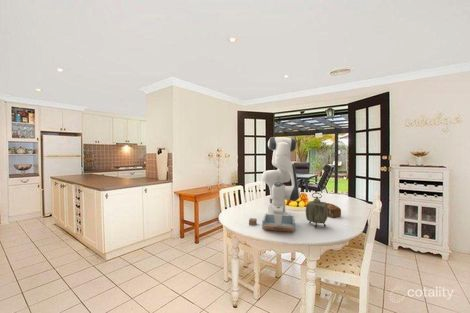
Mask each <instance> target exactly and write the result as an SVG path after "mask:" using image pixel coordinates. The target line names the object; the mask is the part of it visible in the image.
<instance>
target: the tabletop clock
mask: <svg viewBox="0 0 470 313" xmlns="http://www.w3.org/2000/svg"><path fill="white" fill-rule="evenodd" d="M315 194H316V195H320V197H319V196H314V195H315ZM311 197H312V198H314V199H313V200H310V201H308V202H307V204H306V206H305V217H306V220H307V221H308V224H312V223H314V224H315V225H314V227H315V228H317V227H318V224H323V226H324V227H326V226H327V224H326V222H327V220H328V217H329V216H328V206H327V204H326V203H327V202H326V203H324V201H321V200H320V199H321V198H322V197H323V195H322V194H321V193H319V192H313V193H312V194H311Z"/></svg>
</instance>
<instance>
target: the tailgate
mask: <svg viewBox="0 0 470 313" xmlns="http://www.w3.org/2000/svg"><path fill="white" fill-rule="evenodd" d="M263 230H264V231H276V232H289V233H290V232H291V233H294V232H293V227H290V226H277V225H264V229H263Z"/></svg>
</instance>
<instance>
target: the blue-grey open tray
mask: <svg viewBox="0 0 470 313" xmlns="http://www.w3.org/2000/svg"><path fill="white" fill-rule="evenodd" d="M262 218H263V219H262V223H261V224H262V227H261V228H262V230H264V225H275V218H274V214H266V213H264V215H263V217H262ZM280 226H290V227H293V232H292V233H296V219H295V215H290V214H288V215H282V222H281V225H280Z"/></svg>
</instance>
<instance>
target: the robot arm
mask: <svg viewBox="0 0 470 313" xmlns="http://www.w3.org/2000/svg"><path fill="white" fill-rule="evenodd" d="M267 147H268V149H269V150H271V151H273V152H272V159H271V164H272V166H273V167H274V168H277V169H271V170H270V169H269V170H264V171H263V173H262V174H261V180H262V181H263V182H264V183H265V184H266V185H267V186H268V189H269V196H270V197H269V203H268V205H267V211H266V212H265V214H274V218H275V225H277V226H280V225H281V222H282V215H289V214H288V212H287V211H286V201H291V202H295V201H298V200H299V199H300V195H301V192H300V188H299V182H298V177H297V170H296V166H295V164H294V163H293V162H292V160H291V152H294V151H295V150H296V148H297V140H296V139H295V138H292V137H285V136H282V137H280V136H276V137H275V136H271V137H270V138H269V140H268V142H267ZM290 181H291V185H285V184H284V183H288V182H290Z"/></svg>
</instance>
